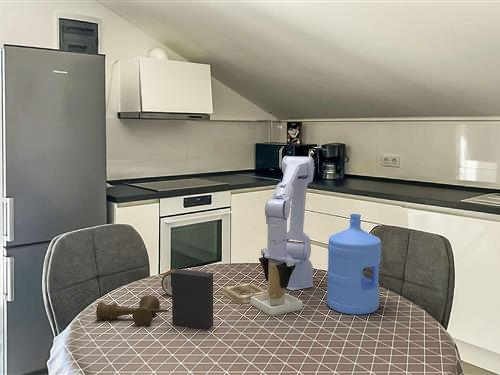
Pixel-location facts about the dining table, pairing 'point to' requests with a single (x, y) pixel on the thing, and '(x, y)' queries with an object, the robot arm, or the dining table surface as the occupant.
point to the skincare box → (275, 284)
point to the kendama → (132, 310)
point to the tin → (168, 282)
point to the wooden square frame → (233, 290)
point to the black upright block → (192, 299)
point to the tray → (276, 305)
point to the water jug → (353, 270)
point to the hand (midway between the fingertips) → (276, 283)
